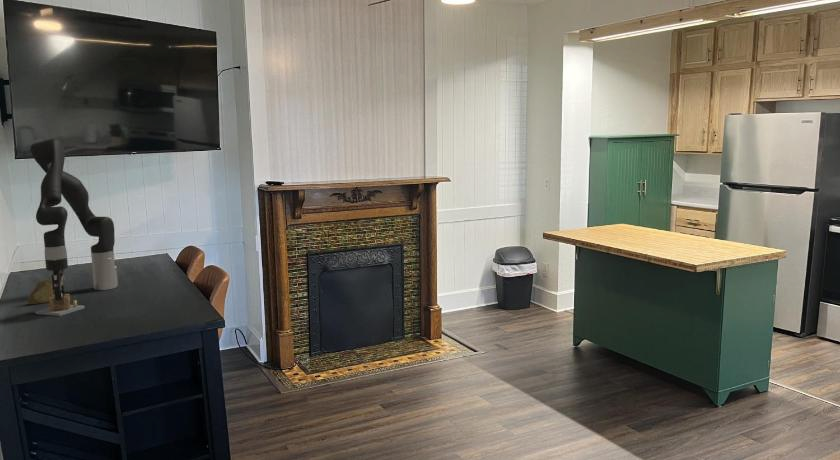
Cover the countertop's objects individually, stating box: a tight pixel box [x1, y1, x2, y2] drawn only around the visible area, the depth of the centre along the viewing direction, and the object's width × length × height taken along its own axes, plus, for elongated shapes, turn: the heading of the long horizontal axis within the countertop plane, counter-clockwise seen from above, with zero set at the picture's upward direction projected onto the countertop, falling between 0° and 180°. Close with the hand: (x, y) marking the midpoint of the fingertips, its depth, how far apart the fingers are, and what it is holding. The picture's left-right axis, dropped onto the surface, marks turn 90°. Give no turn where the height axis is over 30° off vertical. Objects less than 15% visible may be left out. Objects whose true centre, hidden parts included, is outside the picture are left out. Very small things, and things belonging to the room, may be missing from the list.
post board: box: [35, 293, 85, 317], centre depth 248 cm, size 12×12×7 cm
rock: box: [27, 279, 55, 305], centre depth 264 cm, size 11×9×10 cm
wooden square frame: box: [48, 293, 72, 311], centre depth 249 cm, size 6×6×5 cm
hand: (60, 297), depth 248 cm, fingers open, 8 cm apart
